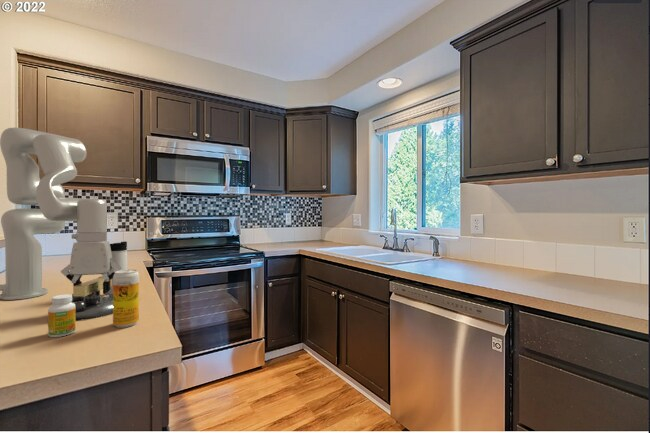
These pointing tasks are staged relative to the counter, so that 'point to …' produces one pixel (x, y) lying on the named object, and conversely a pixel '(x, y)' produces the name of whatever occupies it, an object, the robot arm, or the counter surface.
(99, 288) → the orange-tipped wooden plank
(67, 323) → the supplement bottle
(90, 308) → the base
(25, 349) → the counter surface
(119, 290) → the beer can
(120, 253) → the travel mug
